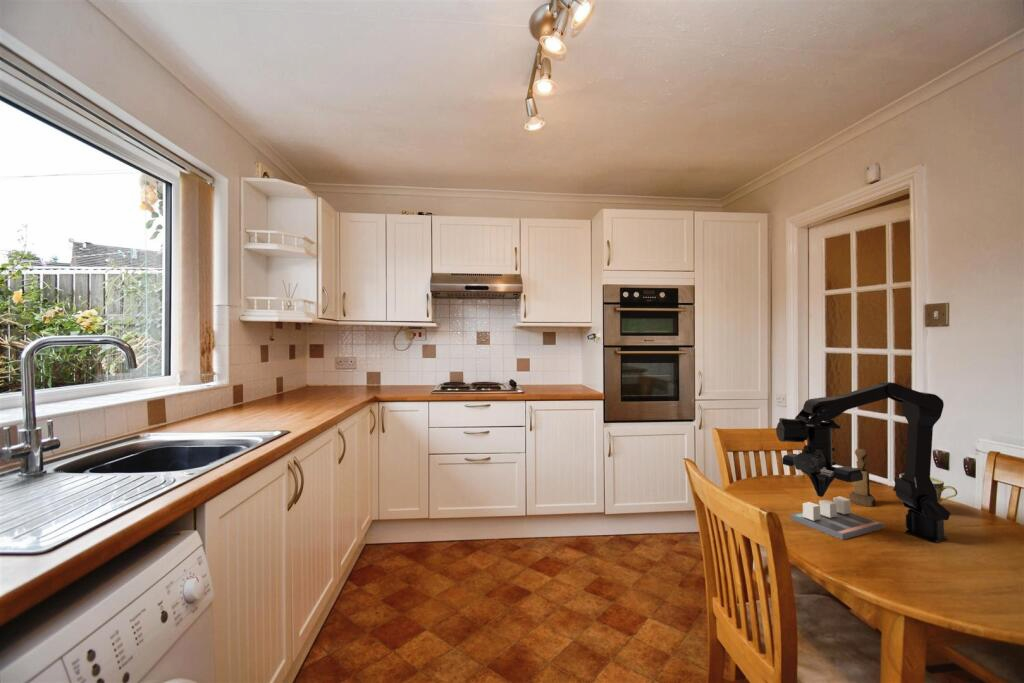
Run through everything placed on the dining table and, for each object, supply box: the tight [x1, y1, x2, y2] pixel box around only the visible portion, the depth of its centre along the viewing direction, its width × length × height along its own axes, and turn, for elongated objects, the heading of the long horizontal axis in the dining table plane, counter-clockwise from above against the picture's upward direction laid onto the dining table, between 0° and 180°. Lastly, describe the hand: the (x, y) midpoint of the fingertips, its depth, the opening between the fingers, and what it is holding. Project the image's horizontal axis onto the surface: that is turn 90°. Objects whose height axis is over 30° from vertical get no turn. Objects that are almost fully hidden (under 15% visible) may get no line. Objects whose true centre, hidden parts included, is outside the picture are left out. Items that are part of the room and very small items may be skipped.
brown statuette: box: [848, 448, 876, 507], centre depth 134 cm, size 7×6×18 cm
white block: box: [832, 495, 852, 514], centre depth 123 cm, size 3×3×4 cm
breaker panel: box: [790, 511, 884, 541], centre depth 118 cm, size 14×18×2 cm
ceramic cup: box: [898, 473, 958, 504], centre depth 126 cm, size 13×10×10 cm
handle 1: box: [802, 501, 820, 521], centre depth 119 cm, size 3×3×4 cm
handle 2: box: [818, 499, 837, 518], centre depth 120 cm, size 3×3×4 cm
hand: (820, 496), depth 116 cm, fingers closed
